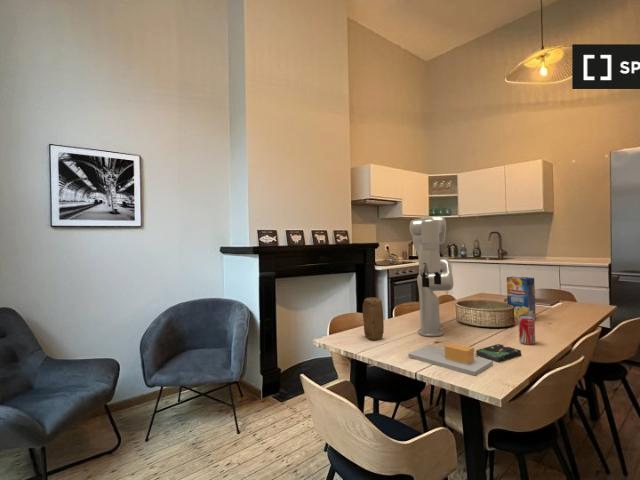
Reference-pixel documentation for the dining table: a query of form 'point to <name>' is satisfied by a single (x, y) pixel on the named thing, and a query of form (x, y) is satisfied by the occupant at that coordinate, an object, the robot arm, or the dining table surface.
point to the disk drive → (498, 353)
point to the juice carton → (521, 296)
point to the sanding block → (459, 353)
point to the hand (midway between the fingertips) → (431, 285)
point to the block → (373, 318)
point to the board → (438, 358)
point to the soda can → (526, 330)
